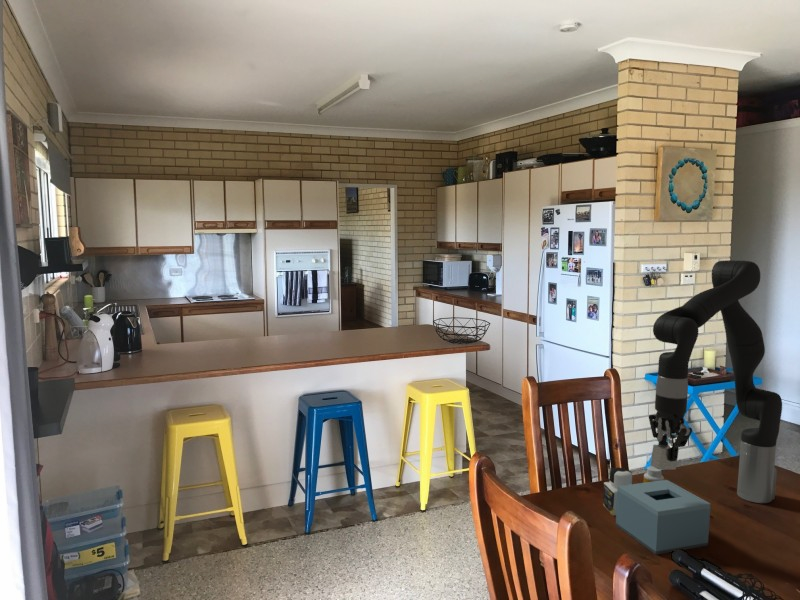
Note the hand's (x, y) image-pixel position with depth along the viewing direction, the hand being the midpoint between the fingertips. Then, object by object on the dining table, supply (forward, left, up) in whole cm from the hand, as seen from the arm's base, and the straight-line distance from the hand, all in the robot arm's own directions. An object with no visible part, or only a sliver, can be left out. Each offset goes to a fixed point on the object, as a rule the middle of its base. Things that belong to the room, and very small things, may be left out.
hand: (667, 458), depth 163 cm
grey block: (+1, 0, -2) cm, 3 cm away
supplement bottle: (-12, -19, -22) cm, 31 cm away
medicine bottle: (+1, -17, -22) cm, 27 cm away
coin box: (0, -1, -21) cm, 21 cm away
